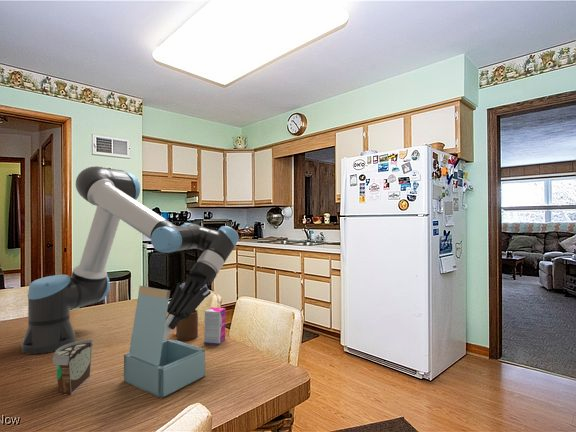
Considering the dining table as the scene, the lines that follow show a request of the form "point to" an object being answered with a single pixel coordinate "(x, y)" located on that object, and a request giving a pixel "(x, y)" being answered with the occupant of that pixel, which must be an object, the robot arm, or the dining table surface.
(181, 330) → the mug
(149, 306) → the flap
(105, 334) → the dining table surface
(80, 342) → the food container
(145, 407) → the dining table surface
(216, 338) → the supplement box
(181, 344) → the carton
